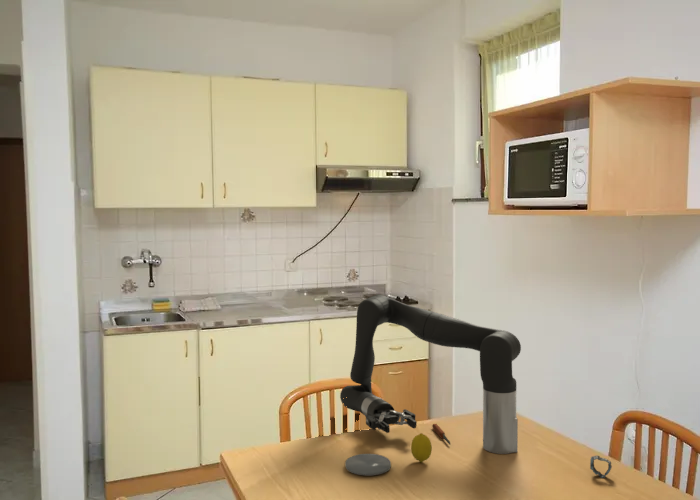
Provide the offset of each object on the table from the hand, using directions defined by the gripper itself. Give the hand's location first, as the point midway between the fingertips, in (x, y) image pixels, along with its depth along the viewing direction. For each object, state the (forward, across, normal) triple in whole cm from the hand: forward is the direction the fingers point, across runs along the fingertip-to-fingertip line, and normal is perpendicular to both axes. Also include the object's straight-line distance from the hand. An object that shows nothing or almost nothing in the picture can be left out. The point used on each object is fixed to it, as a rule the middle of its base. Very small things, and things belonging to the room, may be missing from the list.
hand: (401, 427), depth 178 cm
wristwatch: (+38, +36, +6) cm, 53 cm away
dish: (+8, -15, +6) cm, 18 cm away
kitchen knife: (-2, +15, +6) cm, 16 cm away
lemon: (+11, 0, +6) cm, 13 cm away
